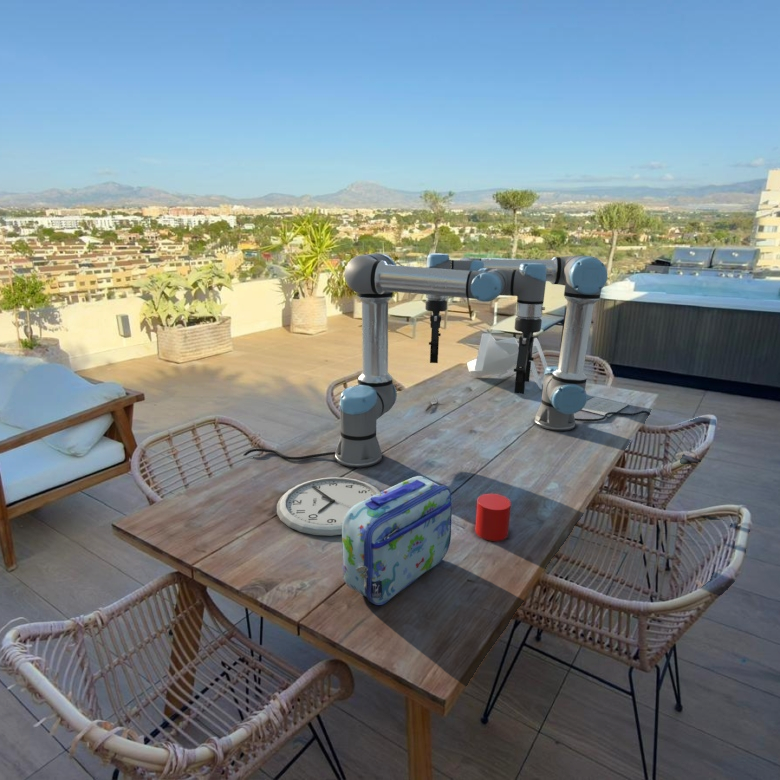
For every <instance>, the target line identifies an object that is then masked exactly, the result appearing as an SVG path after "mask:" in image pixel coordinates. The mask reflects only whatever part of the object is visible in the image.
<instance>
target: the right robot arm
mask: <svg viewBox="0 0 780 780" xmlns="http://www.w3.org/2000/svg"><path fill="white" fill-rule="evenodd" d="M522 263H541V264H544V265H545V266H546V268H547V270H546V282H550V284H551V285H560V286H564V292H563V297H564V298H565V299H566V301H567V303H566V310H565V317H564V324H563V331H562V337H561V344H560V352H559V359H558V365H557V366H556V365H555V366H554V365H553V366H548V367H547V368H546V369H545V370H544V373H543V381H542V382H543V384H542V394H541V402H540V405H539V407H538V410H537V411H536V413H535V417H534V424H535V425H536V426H537V427H539V428H542V429H544V430H549V431H556V432H567V431H572V430H574V429H575V428H576V421H577V422H599V421H603V420H605V419H606V418H607V417H608V416H607V415H609V414H613V415H621V416H637V415H641V414H647V415H649V416H651V413H650V412H649V411H647V410H640V411H638V412H633V413H631V412H630V413H629V412H620V411H618V412H609V413H606V414H605V415H603V416H602V417H601V418H600V417H599V418H577V417H576V416H575V414H577V413H579V412H580V411H582V410H581V409H583V407H584V406H585V404H586V402H587V401H588V395H587V392H586V385H587V380H588V376H587V374H586V373H585V372H584V370H585V363H586V356H587V352H588V351H587V350H588V346H589V345H588V344H589V339H590V334H591V333H590V331H591V325H592V320H593V315H594V308H595V304H596V302H599V301H600V300H601V294H602V289H603V288H604V287H605V285H606V283H607V281H608V269H607V267H606V265H605V264H604V262H602V261H601V260H600V259H598V258H597V257H595V256H590V255H584V254H578V255H569V256H554V257H553V258H552V259H537V258H536V259H535V258H534V259H532V258H531V259H529V258H527V259H526V258H476V257H475V258H474V257H462V258H460V259H450V255H449V254H448V253H430V254H428V255H427V258H426V268H439V269H453V270H467V271H479V270H480V269H487V268H492V269H507V270H519V268H520V265H521V264H522ZM448 297H449V296H437V295H426V294H425V298H426V299H425V307H424V308H425V311H427V312H432V314H430V315H429V322H430V329H431V335H430V341H429V342H428V346H430V348H429V349H430V350H429V363H430V364H438V363H439V347H440V346H439V345H440V343H439V342H440V337H441V333H440V328H441V322H442V314H440V313H441V312H446V311H447V310H448V300H447V299H448ZM575 417H576V418H575Z"/></svg>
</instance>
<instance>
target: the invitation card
mask: <svg viewBox="0 0 780 780" xmlns="http://www.w3.org/2000/svg"><path fill="white" fill-rule="evenodd" d="M628 406H629V404H627V403H623V402H618V401H614V400H609V399H605V398H601V397H596V396H593V397H592V398H590V399H587V402H586V404H585V406H584V407H583V409H581V410H580V411H584V412H587V413H593V414H596V415H600V416H604V415H605V414H606V413H609V412H620V411H621V410H623V409H624V408H626V407H628ZM613 415H614V414H609V415H607V416H606V417H608V418H609V417H611V416H613Z"/></svg>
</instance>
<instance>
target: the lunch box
mask: <svg viewBox="0 0 780 780" xmlns="http://www.w3.org/2000/svg"><path fill="white" fill-rule="evenodd" d="M452 511H453V510H452V491H451V489H450V487H449V486H447V485H444V484H442V485H440V484H437V483H436V482H434V481H432V480H430V479H428V478H427V477H425V476H422V475H416V476H413V477H411V478H408V479H406V480H403V481H401V482H399V483H397V484H395V485H393V486H390V487H388V488H386V489H384V490H382V491H381V492H380V493H378V494H376V495H374V496H372V497H370V498H368V499H366V500H364V501H362V502H360V503H358V504H356V505H354V506H353V507H352V508H351V509H350V510H349V511H348V512H347V514H346V516H345V518H344V521H343V525H342V535H341V543H342V544H341V545H342V569H343V578H344V583H345V585H346V586H347V587H349V588H351V589H352V590H354V591H356V592H357V593H360V594H361V595H362V596H363V597H365V598H367V601H369V603H372V604H373V605H376V606H383V605H385V604H386V603H388V602H389V601H390V600H391V599H392V598H394V597H395V596H396V595H397V594H399V593H400V592H401V591H403V590H404V589H406V588H407V587H408V586H410V585H411V584H413V583H414V582H416V580H417V579H418V578H420V576H422V575H423V574H425V573H426V572H428V571H430V570H432V569H433V568H435V567H436V566H438V565H439V564H440V563H441V562H442V561H443V560H444V558H445V557H446V555H447V552H448V551H449V548H450V544H451V539H452V515H453V514H452Z"/></svg>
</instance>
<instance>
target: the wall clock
mask: <svg viewBox="0 0 780 780" xmlns="http://www.w3.org/2000/svg"><path fill="white" fill-rule="evenodd" d="M380 492H382V491H381V490H380V489H379V488H377V487H376V486H374V485H372V484H371V483H369V482H365V481H362V480H359V479H355V478H349V477H338V476H337V477H335V476H333V477H332V476H331V477H322V478H317V479H312V480H307V481H305V482H302V483H299V484H297V485H295V486H293V487H292V488H290V489H288V490H287V491H286V492H285V493H284V494H283V495H281V496H280V498H279V499H278V502H277V503H276V515H277V517H278V518H279V520H280V521H281V522H282V523H283V524H285V525H286V526H287V527H288V528H290V529H293V530H295V531H297V532H299V533H303V534H308V535H312V536H327V537H328V536H329V537H331V536H332V537H333V536H342V525H343V521H344V518H345V516H346V514H347V512H348V511H349V510H350V509H351V508H352V507H353V506H354V505H356V504H358V503H360V502H362V501H364V500H366V499H368V498H370V497H372V496H374V495H376V494H378V493H380Z"/></svg>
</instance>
